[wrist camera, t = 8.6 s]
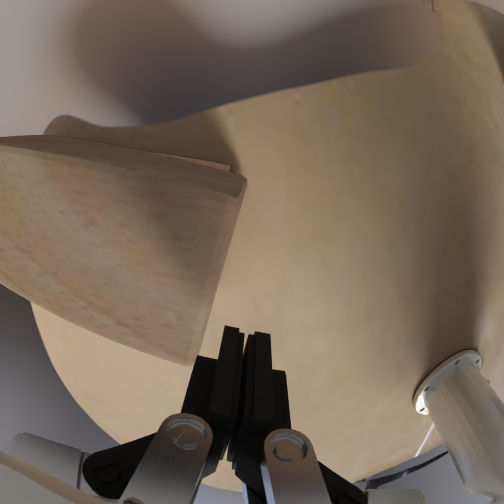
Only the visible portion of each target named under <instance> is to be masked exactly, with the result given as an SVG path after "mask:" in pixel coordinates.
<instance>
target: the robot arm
mask: <svg viewBox="0 0 504 504" xmlns="http://www.w3.org/2000/svg"><path fill="white" fill-rule="evenodd" d="M243 346H244V333H240V332H239V328H235V327H230V326H225V327H224V332H223V337H222V342H221V347H220V352H219V356H218V360H217V359H212V358H208V357H203V356H199V355H197V357H196V360H195V364H194V367H193V371H192V374H191V378H190V381H189V385H188V388H187V392H186V395H185V399H184V402H183V406H182V410H181V413H178V414H174V415H171V416H169V417H168V418H166V419H165V420H164V421H163V422H162V424H161V426H160V427H159V429H158V431H157V432H156V433H153V434H151V435H148V436H145V437H143V438H140V439H137V440H134V441H131V442H128V443H125V444H122V445H119V446H116V447H112V448H109V449H106V450H102V451H99V452H95V453H93V454H91V453H87V452H83V451H82V450H81V449H79V448H74V447H71V446H68V445H64V444H61V443H58V442H54V441H51V440H48V439H45V438H42V437H39V436H36V435H34V434H31V433H26V432H24V433H19V434H17V435H16V436H15V437H14V438H13V440H12V442H11V445H10V448H9V452H8V454H7V453H4V452H2V451H0V504H193V503H194V501H195V498H196V495H197V493H198V490H199V487H200V484H201V482H202V479H203V478H204V477H206V476H208V475H210V474H212V473H214V472H215V471H216V468H217V465H218V462H219V460H223V457H224V454H225V451H226V449H227V446H228V453H227V461H230V462H232V469H234V470H235V475H236V476H237V477H238V478H239V479H240V480H241V481H242V490H243V496H244V504H426V500H425V497H424V495H423V494H422V493H421V492H420V491H418V490H415V489H400V490H383V489H368V490H367V491H361V490H360V489H359V488H358V487H356V486H354V485H353V484H351V483H350V482H348V481H347V480H345V479H344V478H342V477H341V476H339V475H338V474H336V473H335V472H333V471H332V470H330V469H329V468H328V467H326V466H325V465H323V464H322V463H321V462H319V461H318V460H317V458H316V455H315V452H314V449H313V446H312V444H311V442H310V440H309V439H308V438H307V437H306V436H305V435H304V434H302V433H301V432H299V431H296V430H293V429H291V421H290V410H289V400H288V390H287V381H286V373H285V371H281V370H274V369H272V356H271V337H270V334H267V333H262V332H256V331H255V333H254V335H251V334H249V335H248V338H247V342H246V346H245V349H244V353H243ZM481 363H482V361H481V357H480V355H479V354H478V353H477V352H476V351H474V350H465V351H462V352H459V353H457V354H455V355H453V356H451V357H450V358H448V359H447V360H445V361H444V362H443V363H441V364H440V365H439V366H438V367H437V368H436V369H434V370H433V371H432V372H431V373H430V374H429V375H428V377H427V378H426V379H425V380H424V381H423V383H422V384H421V385H420V387H419V388H418V390H417V392H416V394H415V396H414V400H413V405H414V408H415V410H416V411H417V412H418V413H419V414H426V415H427V414H430V416H431V418H432V420H433V422H434V424H435V426H436V428H437V430H438V432H439V434H440V436H441V438H442V440H443V442H444V444H445V446H446V448H447V450H448V452H449V454H450V456H451V459H452V461H453V463H454V465H455V467H456V470H457V472H458V474H459V477H460V479H461V481H462V483H463V485H464V487H465V488H466V489H467V490H468V491H469V492H471V493H474V494H477V495H483V496H488V497H491V498H492V500H491V501H490V502H489V503H488V504H504V404H503V403H502V401H501V400H500V398H499V397H498V396H497V394H496V393H495V391H494V390H493V389H492V387H491V386H490V385H489V384H490V382H489V380H486V379H485V378H484V377H483V376H482V374H481V373H480V372H479V371H480V368H481Z"/></svg>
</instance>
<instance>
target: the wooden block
mask: <svg viewBox="0 0 504 504" xmlns="http://www.w3.org/2000/svg"><path fill="white" fill-rule="evenodd" d="M246 187H247V179H246V178H245V177H244V176H242V175H239V174H235V173H231V172H228V171H224V170H221V169H217V168H213V167H209V166H206V165H202V164H198V163H194V162H190V161H186V160H182V159H178V158H173V157H169V156H165V155H160V154H156V153H151V152H147V151H142V150H137V149H132V148H127V147H122V146H117V145H111V144H106V143H100V142H94V141H88V140H82V139H75V138H69V137H61V136H54V135H30V136H29V135H28V136H10V137H0V283H1V284H2V285H4V286H6V287H7V288H9V289H11V290H12V291H14V292H16V293H17V294H19V295H21V296H22V297H24V298H26V299H27V300H29V301H31V302H33V303H35V304H36V305H38V306H40V307H42V308H44V309H46V310H48V311H49V312H51V313H53V314H55V315H57V316H59V317H61V318H63V319H65V320H67V321H70V322H72V323H74V324H76V325H78V326H80V327H82V328H85V329H87V330H89V331H91V332H94V333H96V334H98V335H101V336H103V337H105V338H108V339H110V340H113V341H115V342H118V343H120V344H123V345H125V346H128V347H131V348H133V349H136V350H139V351H142V352H144V353H147V354H150V355H153V356H156V357H159V358H162V359H165V360H168V361H171V362H175V363H178V364H181V365H185V366H192V365H193V364H194V363H195V360H196V357H197V355H199V351H200V347H201V344H202V340H203V336H204V333H205V329H206V326H207V322H208V318H209V315H210V311H211V308H212V304H213V301H214V297H215V294H216V290H217V287H218V283H219V280H220V276H221V273H222V269H223V265H224V262H225V258H226V255H227V251H228V248H229V244H230V241H231V238H232V234H233V231H234V227H235V224H236V220H237V217H238V214H239V210H240V207H241V204H242V200H243V197H244V194H245V190H246Z"/></svg>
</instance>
